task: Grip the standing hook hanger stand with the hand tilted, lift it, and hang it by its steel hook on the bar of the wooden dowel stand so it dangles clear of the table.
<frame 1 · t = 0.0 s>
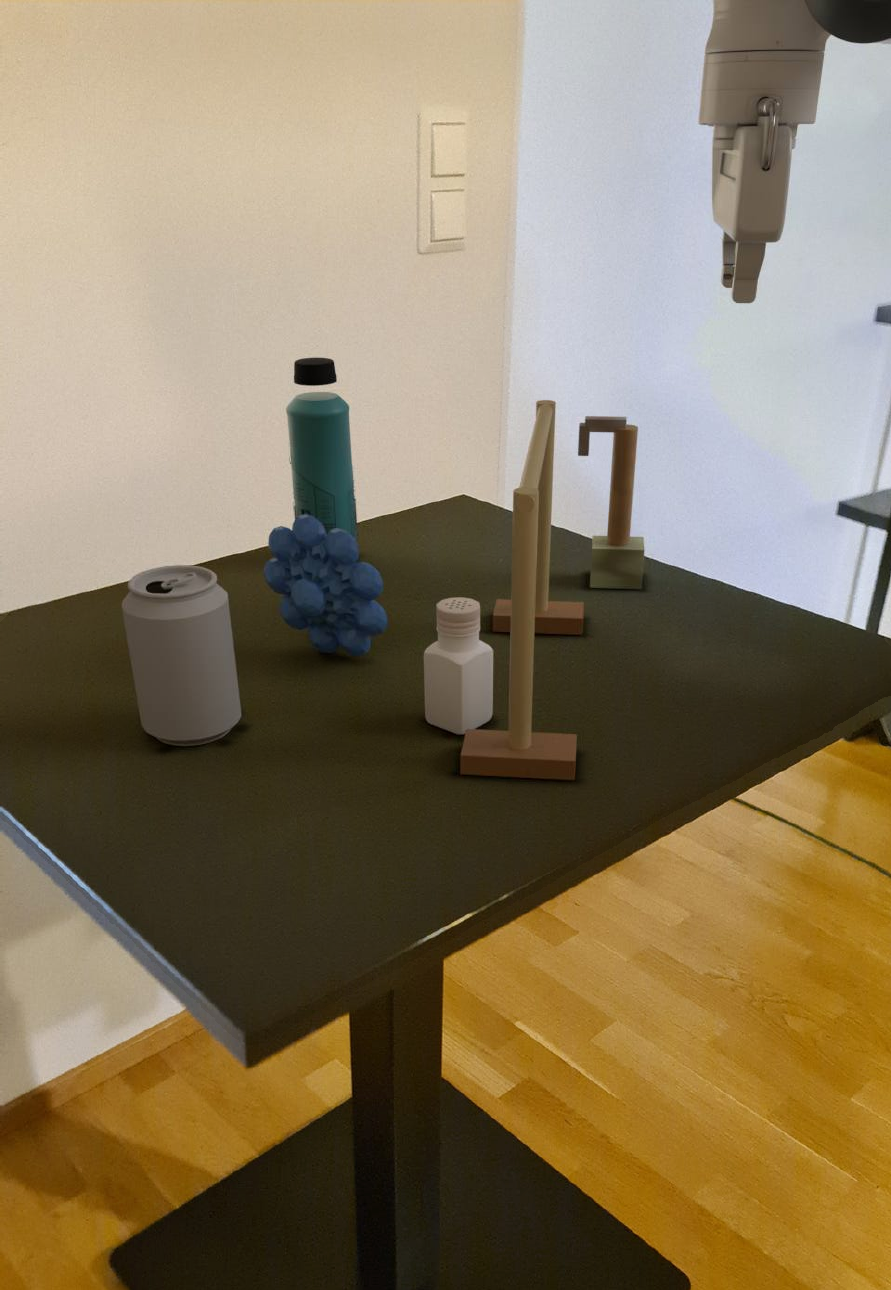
hand: (736, 294, 94), 27 cm above the table, tool pointing down, fingers open, 8 cm apart
wooden dowel stand: (529, 686, 92), on the table
grapes: (323, 659, 97), on the table
pepper shaker: (458, 724, 86), on the table
beverage bottle: (328, 560, 119), on the table
can: (193, 730, 86), on the table
hook hanger stand: (615, 581, 112), on the table
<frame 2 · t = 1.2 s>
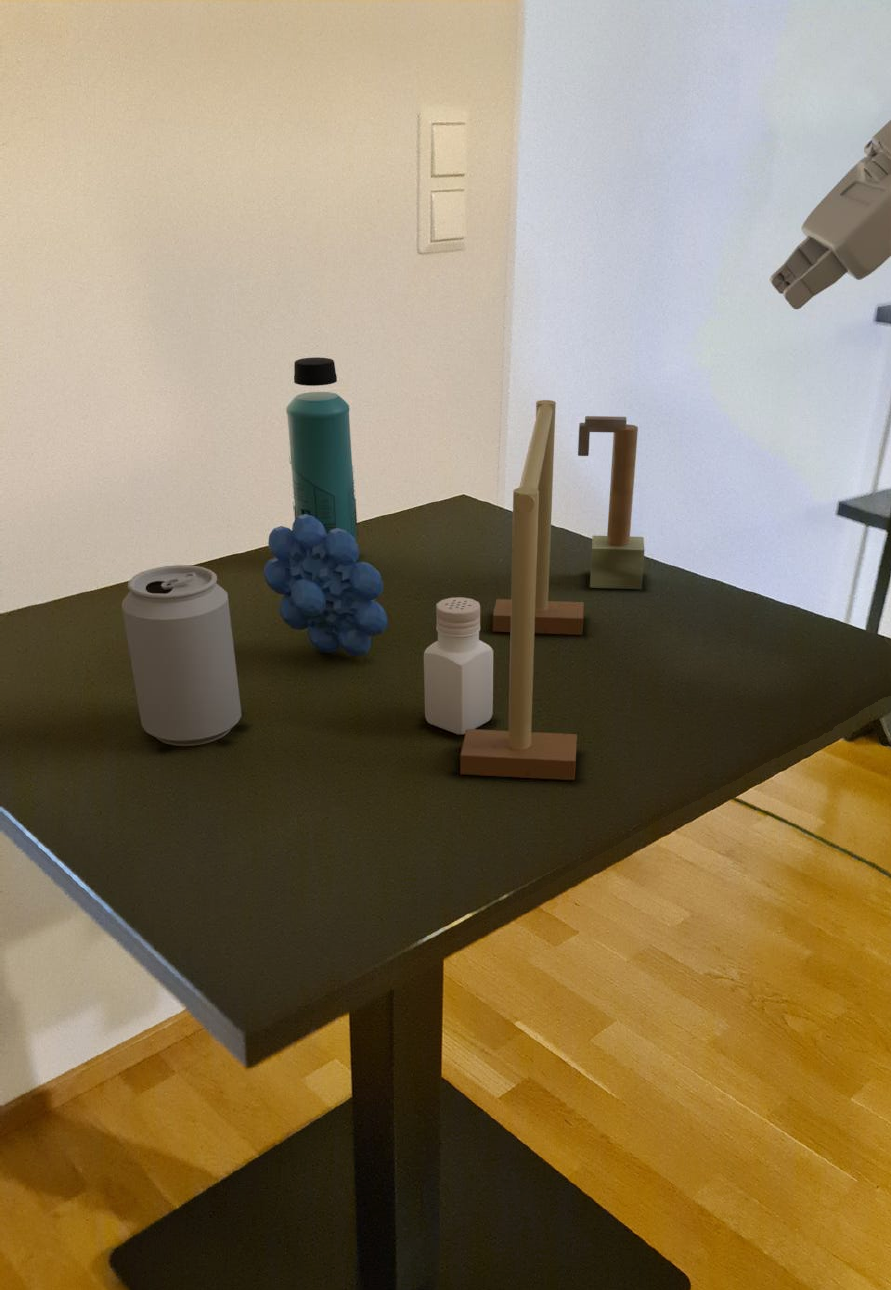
hand: (781, 295, 98), 26 cm above the table, tool tilted 45°, fingers open, 8 cm apart
nothing on the table moved.
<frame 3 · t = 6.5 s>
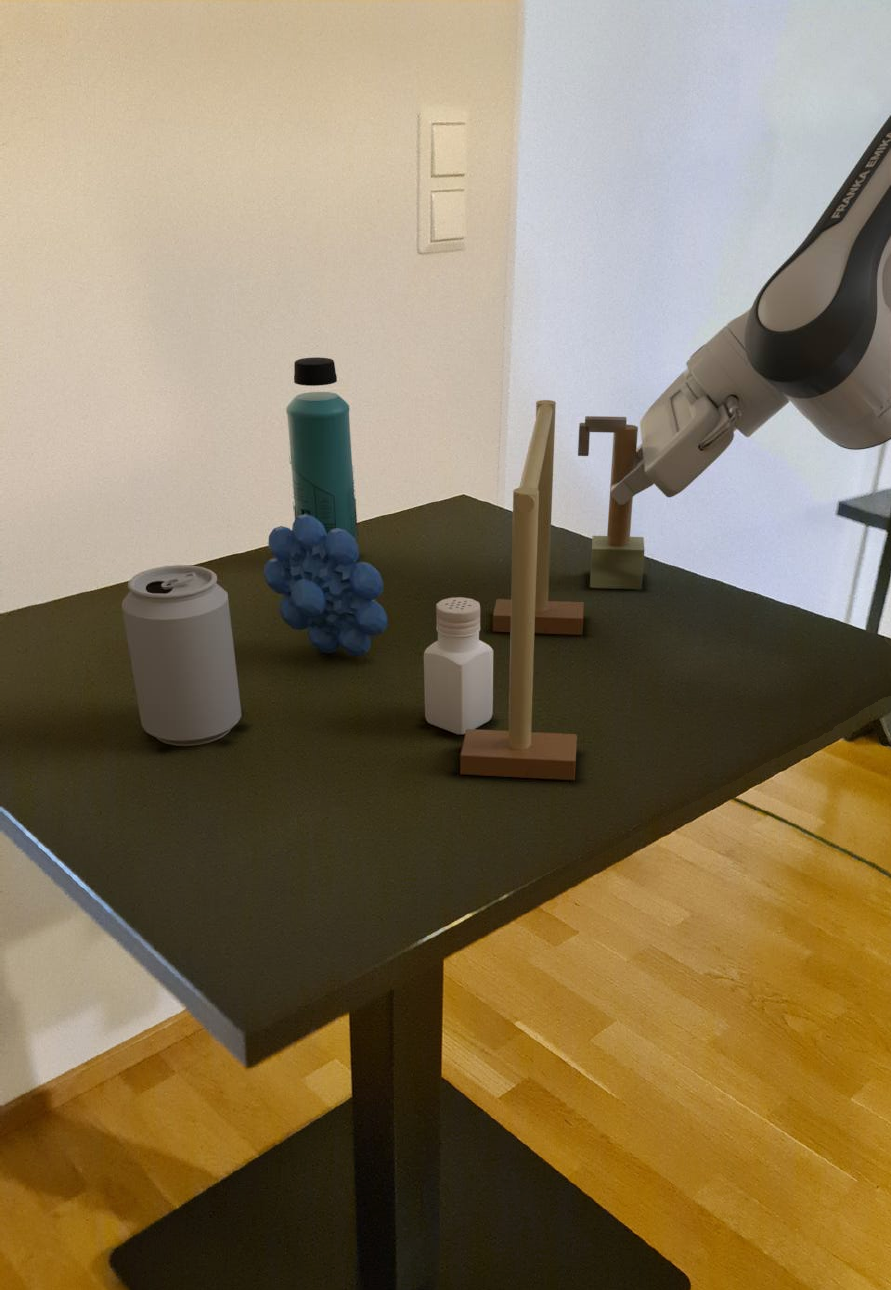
hand: (614, 492, 108), 9 cm above the table, tool tilted 45°, fingers closed on hook hanger stand, 2 cm apart
hook hanger stand: (615, 581, 112), on the table, touching gripper
everything else where it was.
when the fingers open (14 cm above the table, at t = 18.9 s): hook hanger stand stays where it is, resting on wooden dowel stand.
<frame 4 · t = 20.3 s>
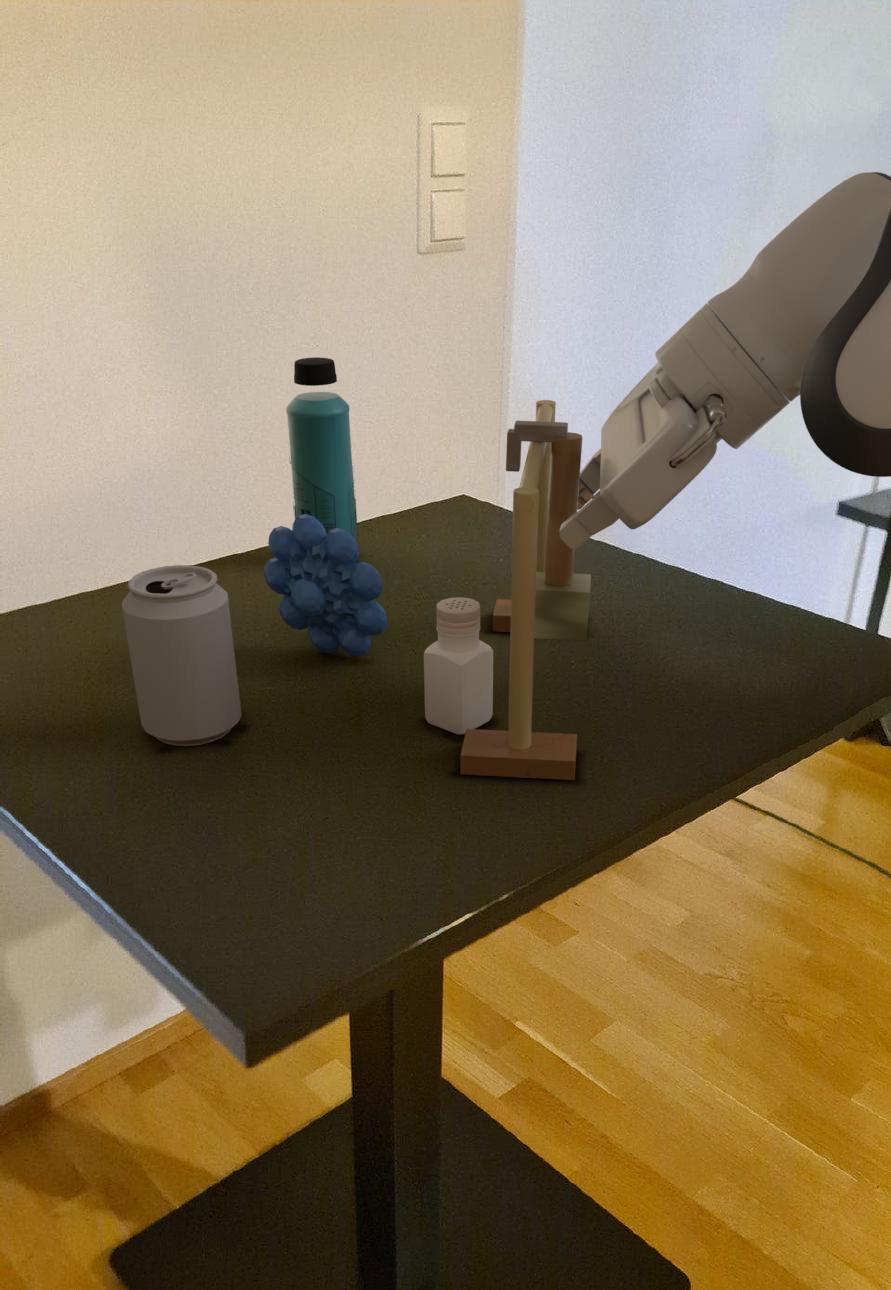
hand: (567, 520, 84), 14 cm above the table, tool tilted 45°, fingers open, 8 cm apart
hook hanger stand: (554, 629, 89), point 5 cm above the table, touching wooden dowel stand
everything else where it was.
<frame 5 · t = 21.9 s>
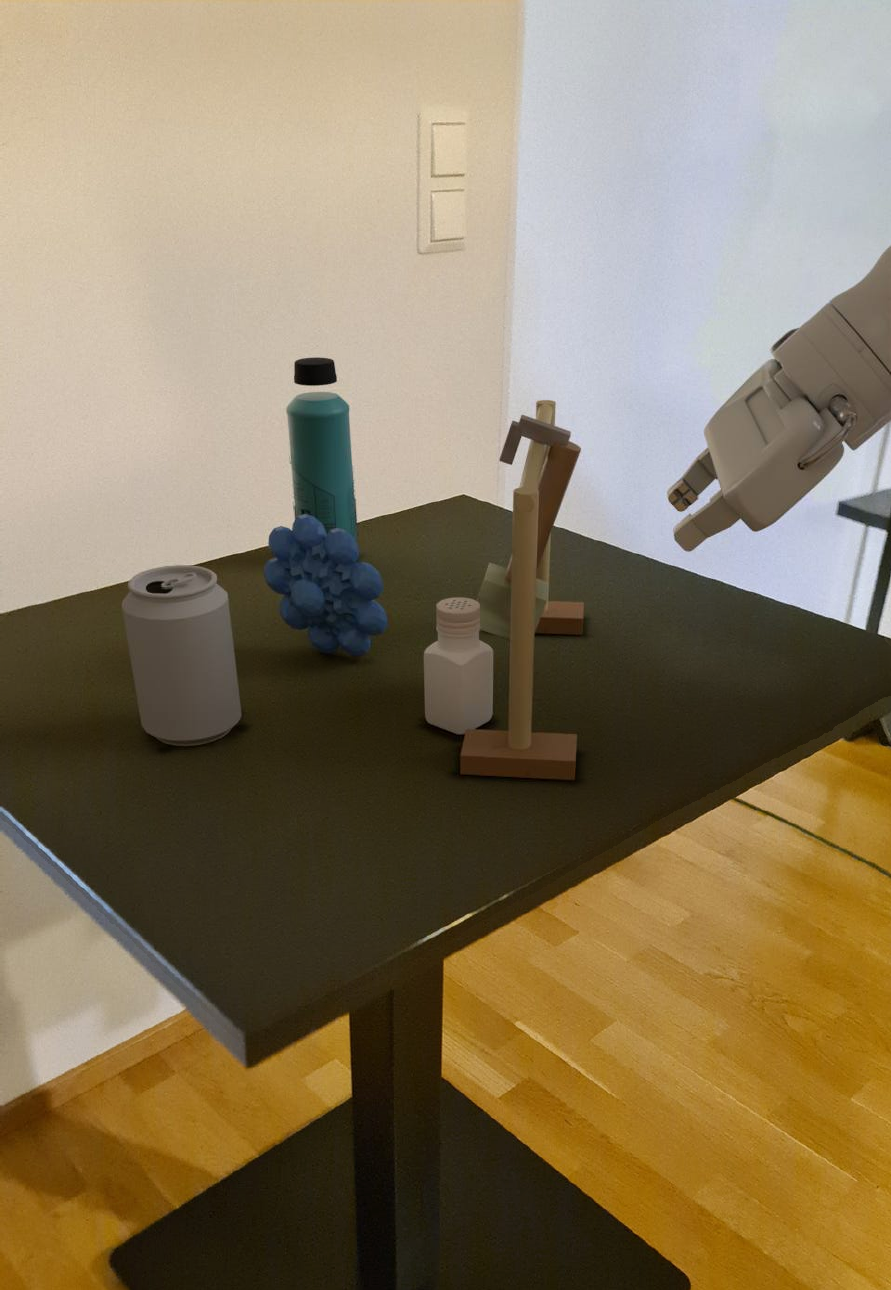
hand: (675, 522, 83), 14 cm above the table, tool tilted 45°, fingers open, 8 cm apart
hook hanger stand: (501, 626, 89), point 5 cm above the table, tilted 18°, touching wooden dowel stand
everything else where it was.
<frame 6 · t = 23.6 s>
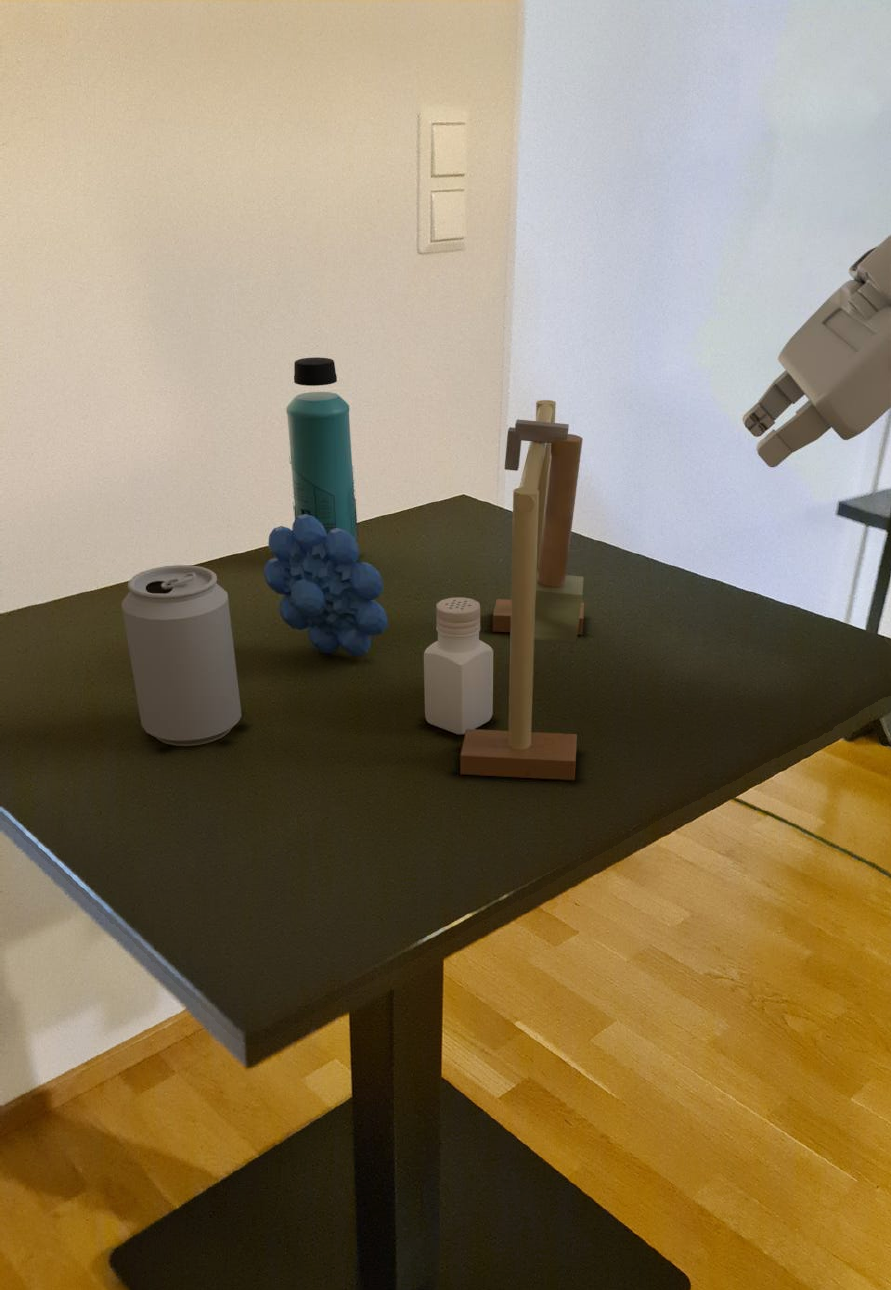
hand: (754, 443, 83), 19 cm above the table, tool tilted 45°, fingers open, 8 cm apart
hook hanger stand: (545, 630, 89), point 5 cm above the table, touching wooden dowel stand
everything else where it was.
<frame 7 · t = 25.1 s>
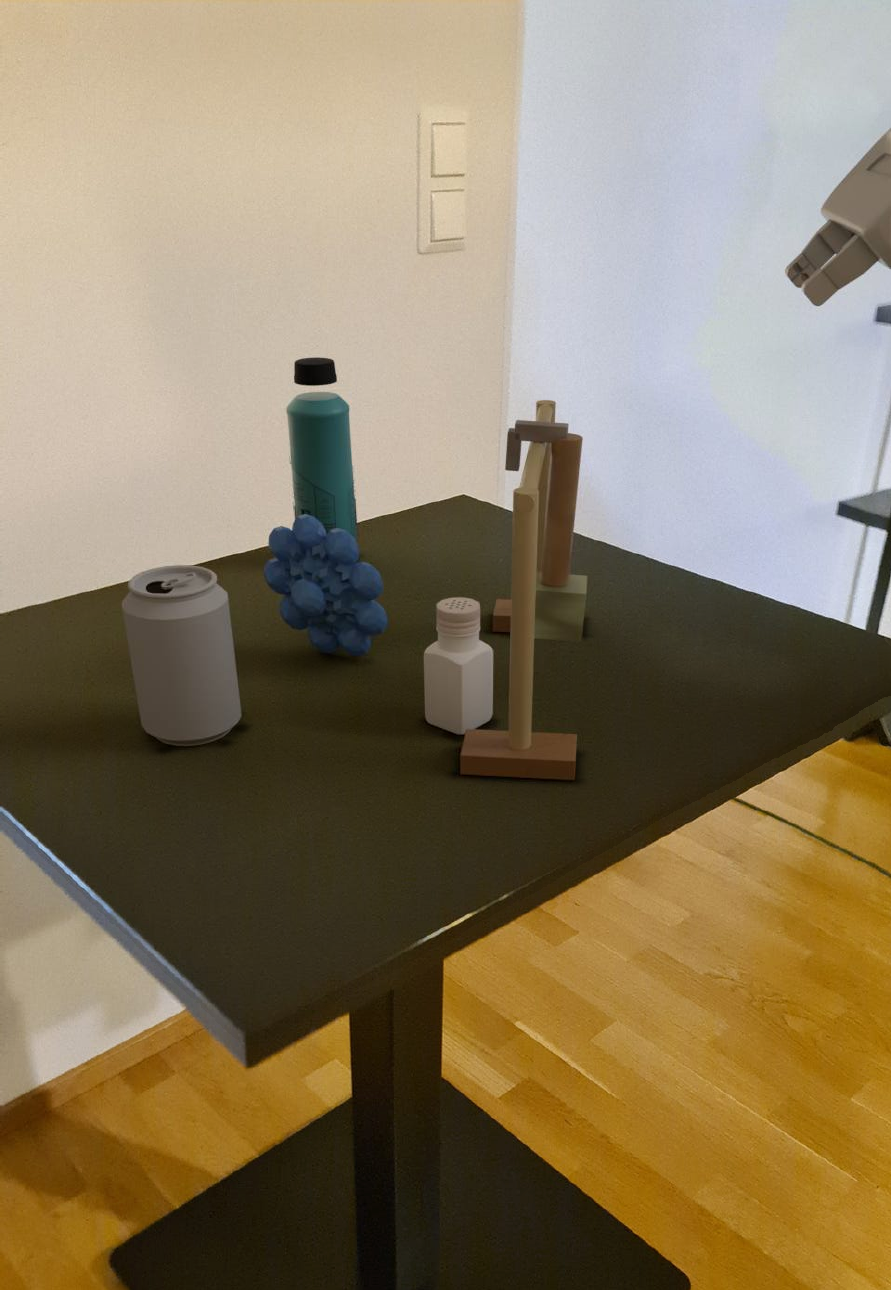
hand: (798, 289, 83), 29 cm above the table, tool tilted 45°, fingers open, 8 cm apart
nothing on the table moved.
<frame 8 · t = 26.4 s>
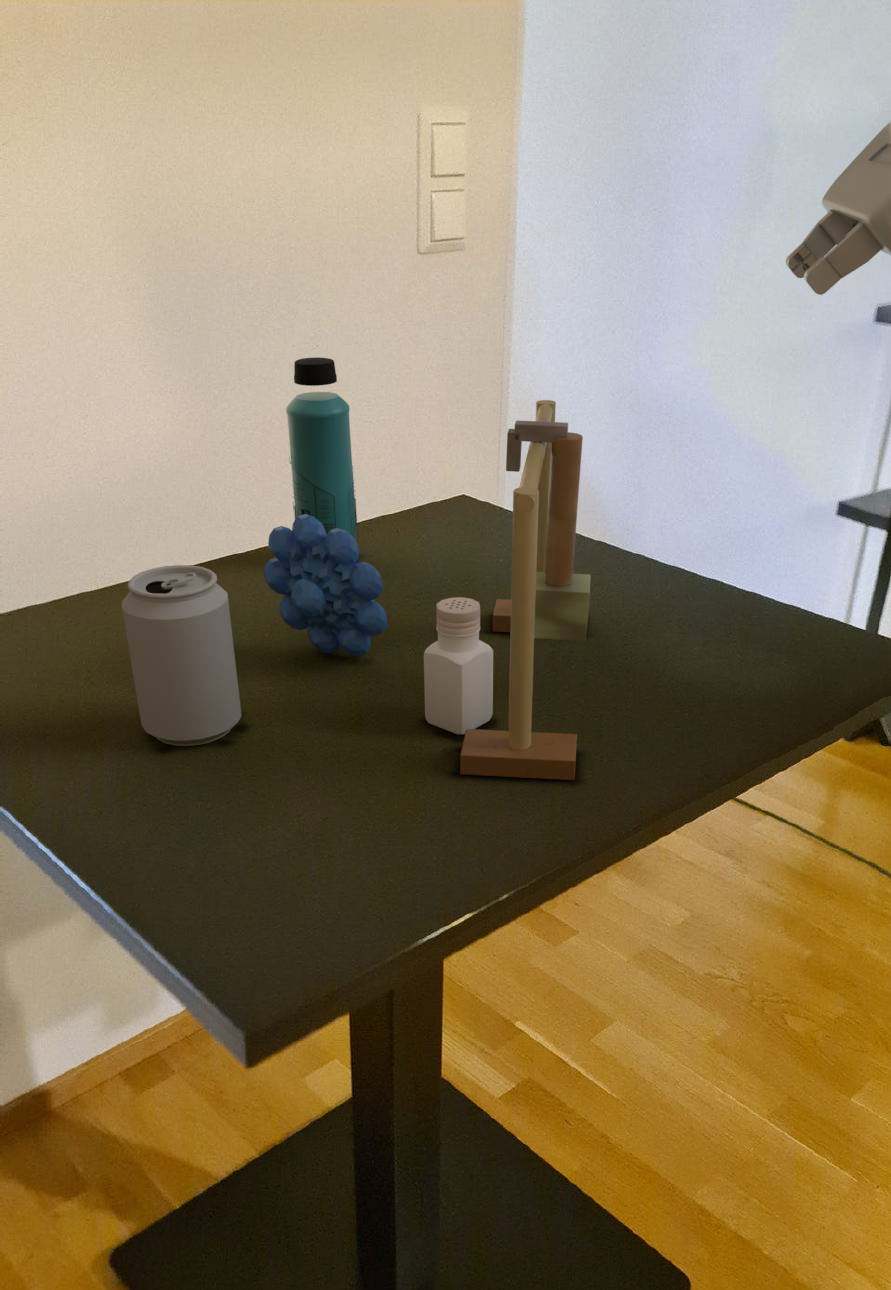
hand: (800, 278, 82), 29 cm above the table, tool tilted 45°, fingers open, 8 cm apart
nothing on the table moved.
at the end: hook hanger stand inside the target area on the wooden dowel stand (1.8 cm from its centre), point 4.9 cm above the wooden dowel stand's base; hook hanger stand touching wooden dowel stand; the gripper is holding nothing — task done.
